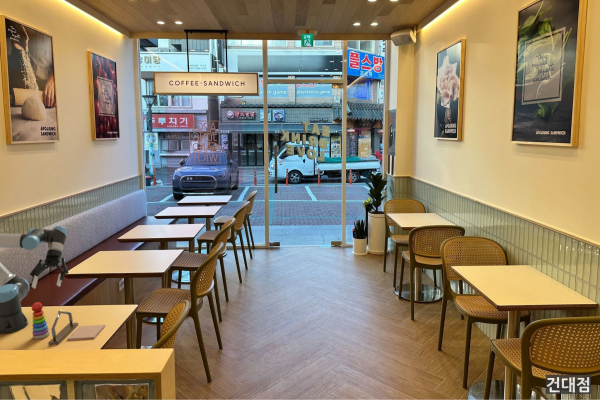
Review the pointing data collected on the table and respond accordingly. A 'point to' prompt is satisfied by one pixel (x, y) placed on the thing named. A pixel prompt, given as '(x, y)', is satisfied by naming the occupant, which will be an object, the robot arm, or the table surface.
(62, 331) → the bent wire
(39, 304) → the stacking toy
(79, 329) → the terracotta pad
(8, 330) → the robot arm
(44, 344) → the table surface
